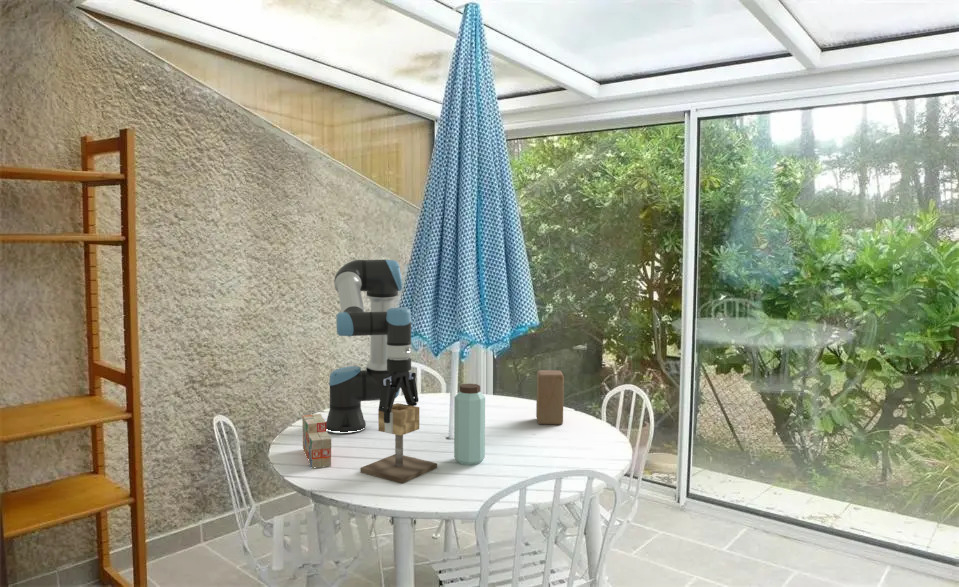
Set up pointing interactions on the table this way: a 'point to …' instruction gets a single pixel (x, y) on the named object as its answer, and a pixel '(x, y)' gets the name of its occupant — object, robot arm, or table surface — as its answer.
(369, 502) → the table surface
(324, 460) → the stack of blocks
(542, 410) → the wooden block
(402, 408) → the bead
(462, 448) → the water bottle
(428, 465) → the board
